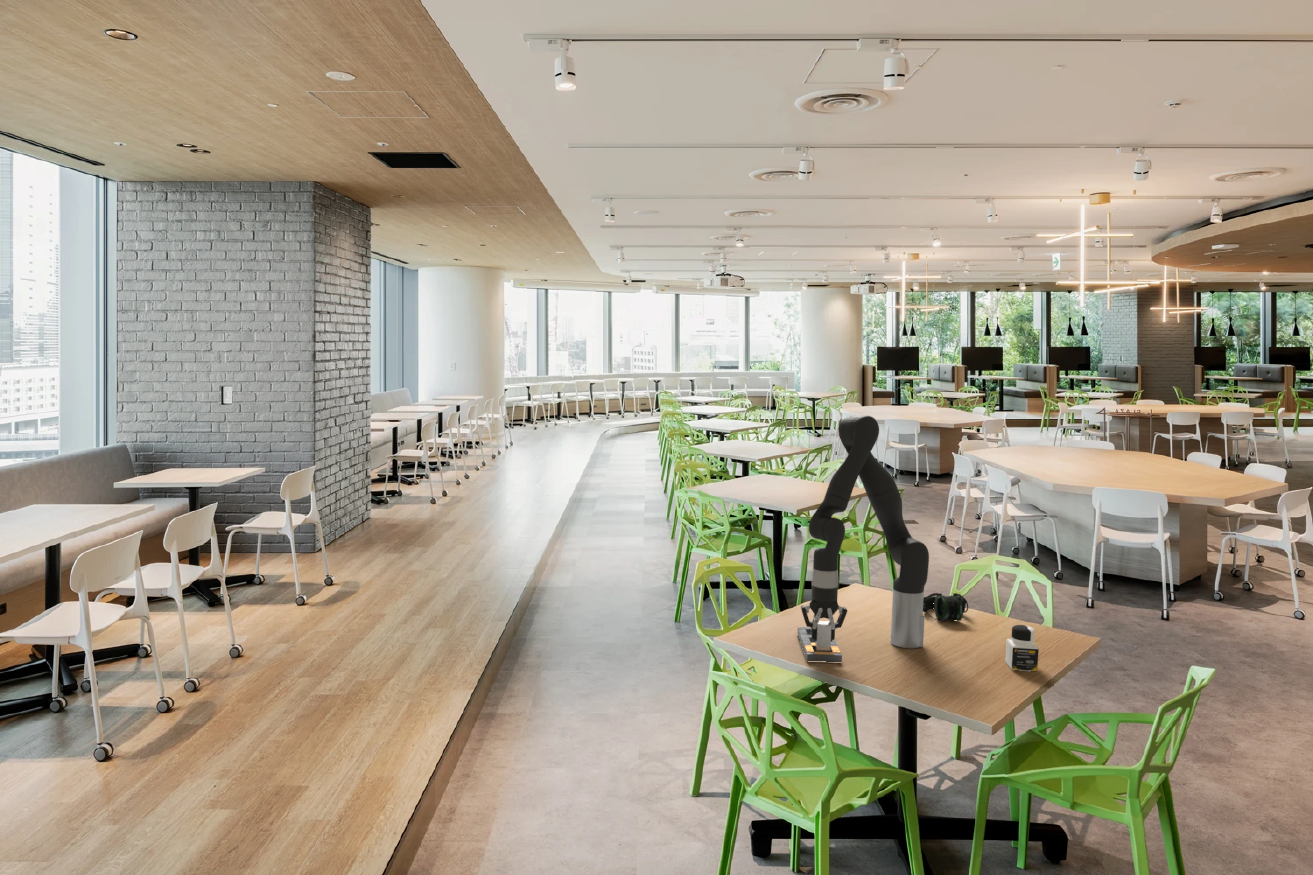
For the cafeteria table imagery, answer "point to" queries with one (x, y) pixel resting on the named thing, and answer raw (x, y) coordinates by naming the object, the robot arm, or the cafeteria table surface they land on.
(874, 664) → the cafeteria table surface
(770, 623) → the cafeteria table surface
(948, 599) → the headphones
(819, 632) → the steel block
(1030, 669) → the medicine bottle
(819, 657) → the slotted rack
